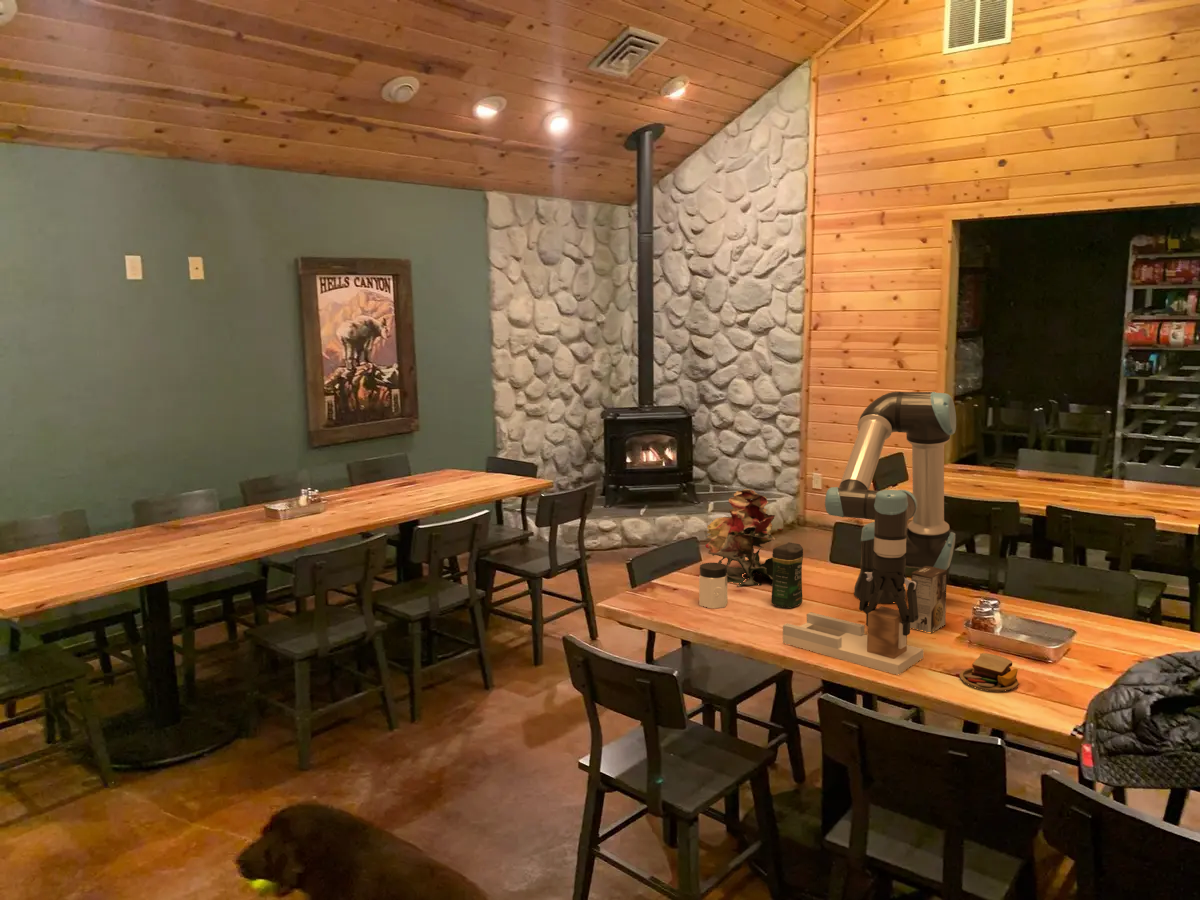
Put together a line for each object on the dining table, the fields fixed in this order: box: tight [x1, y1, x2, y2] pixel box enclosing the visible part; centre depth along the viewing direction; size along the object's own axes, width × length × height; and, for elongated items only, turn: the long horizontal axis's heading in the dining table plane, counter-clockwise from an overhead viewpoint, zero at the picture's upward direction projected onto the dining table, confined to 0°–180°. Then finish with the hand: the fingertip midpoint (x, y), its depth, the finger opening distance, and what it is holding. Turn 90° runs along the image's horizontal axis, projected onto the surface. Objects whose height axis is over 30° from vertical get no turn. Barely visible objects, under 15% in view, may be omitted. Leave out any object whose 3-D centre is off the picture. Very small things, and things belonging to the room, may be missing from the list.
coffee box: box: [910, 566, 948, 633], centre depth 238 cm, size 9×6×16 cm
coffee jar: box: [770, 542, 804, 609], centre depth 260 cm, size 10×8×19 cm
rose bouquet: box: [705, 488, 783, 587], centre depth 288 cm, size 26×29×30 cm
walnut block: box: [866, 605, 908, 659], centre depth 215 cm, size 7×7×10 cm
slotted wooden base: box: [782, 612, 925, 676], centre depth 223 cm, size 32×14×5 cm, turn 46°
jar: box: [698, 562, 728, 609], centre depth 261 cm, size 9×8×12 cm
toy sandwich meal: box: [959, 652, 1019, 692], centre depth 202 cm, size 12×14×5 cm
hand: (887, 643), depth 215 cm, fingers closed on walnut block, 7 cm apart
